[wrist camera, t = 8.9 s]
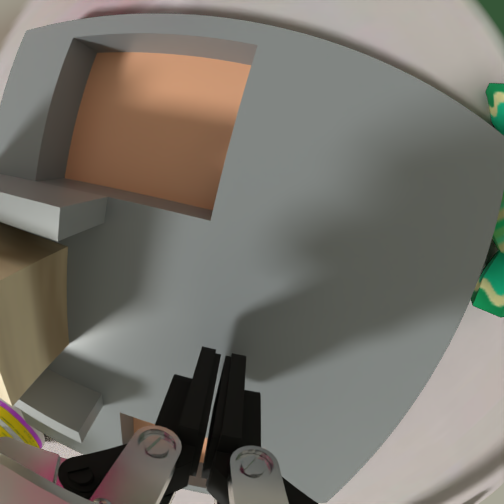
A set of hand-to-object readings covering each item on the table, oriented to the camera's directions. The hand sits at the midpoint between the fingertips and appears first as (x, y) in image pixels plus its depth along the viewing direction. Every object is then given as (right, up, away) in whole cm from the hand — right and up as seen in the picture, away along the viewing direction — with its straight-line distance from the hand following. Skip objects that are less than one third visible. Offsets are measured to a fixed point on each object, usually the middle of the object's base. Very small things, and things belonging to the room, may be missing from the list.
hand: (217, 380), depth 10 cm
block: (-9, +3, 0) cm, 10 cm away
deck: (-1, +1, +3) cm, 4 cm away
